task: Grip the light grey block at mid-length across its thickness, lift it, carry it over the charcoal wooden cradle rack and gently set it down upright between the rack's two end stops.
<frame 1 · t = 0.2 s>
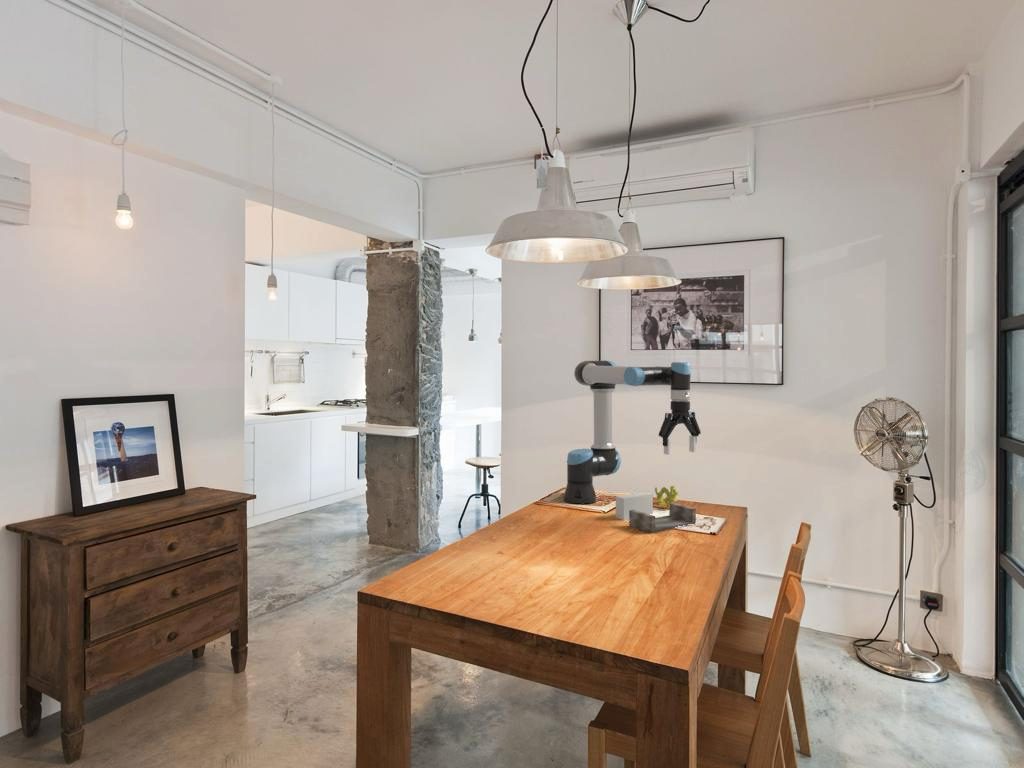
hand: (679, 453, 241), 27 cm above the table, tool pointing down, fingers open, 13 cm apart
green plant sprig: (665, 506, 266), on the table
cradle rack: (662, 525, 235), on the table
light grey block: (634, 516, 249), on the table
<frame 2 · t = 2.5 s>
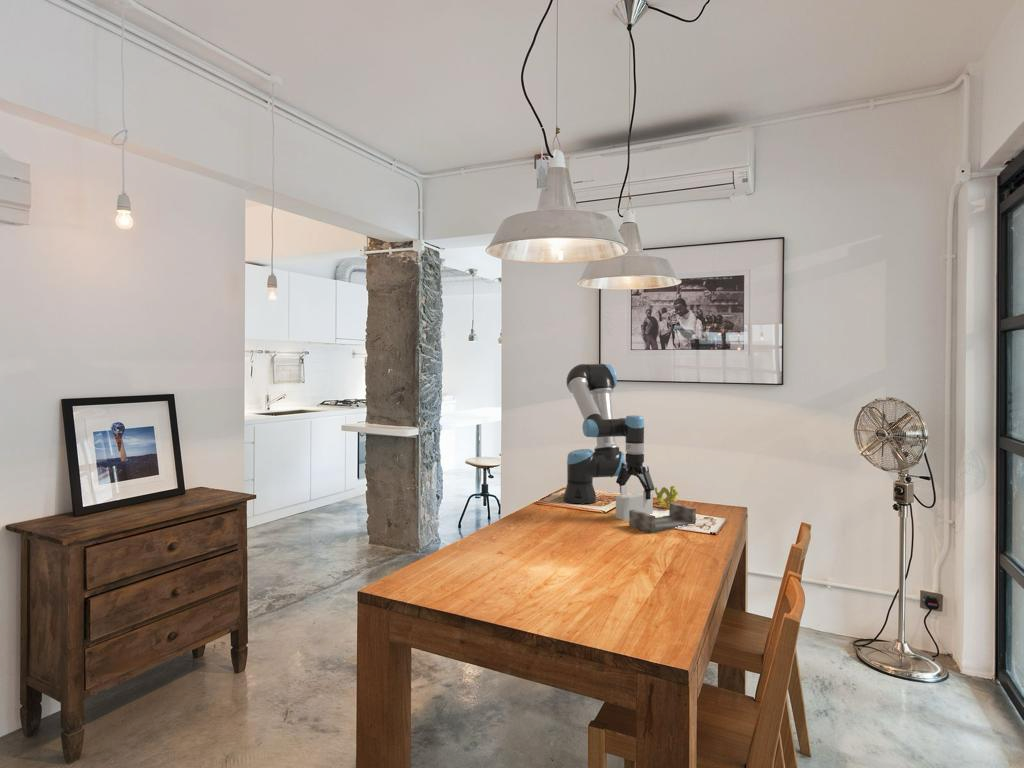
hand: (634, 504, 248), 5 cm above the table, tool pointing down, fingers open, 13 cm apart
nothing on the table moved.
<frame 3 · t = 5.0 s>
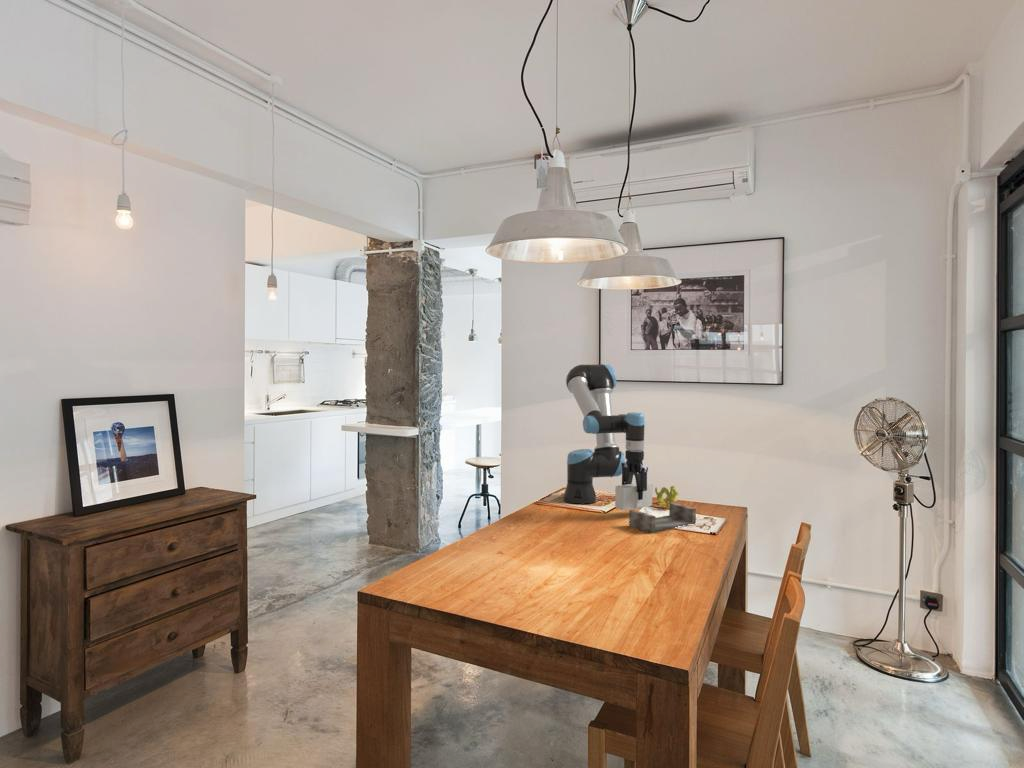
hand: (633, 505, 249), 4 cm above the table, tool pointing down, fingers closed on light grey block, 5 cm apart
light grey block: (633, 506, 249), point 4 cm above the table, touching gripper
everything else where it was.
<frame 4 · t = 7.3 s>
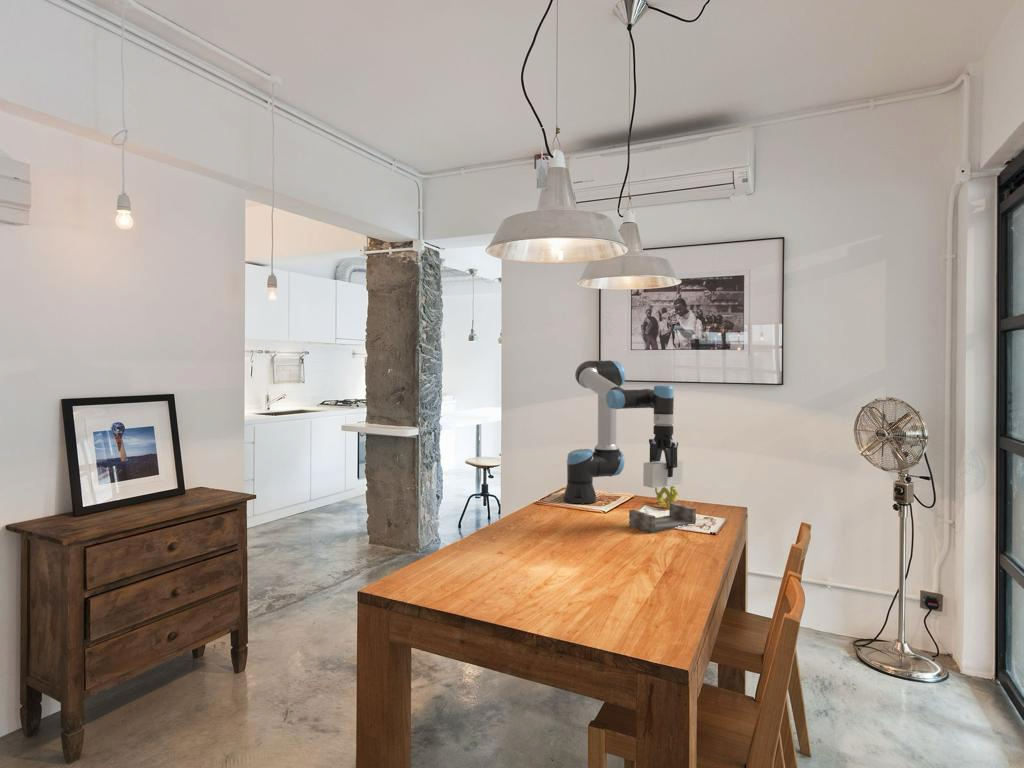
hand: (663, 483, 234), 16 cm above the table, tool pointing down, fingers closed on light grey block, 5 cm apart
light grey block: (662, 484, 234), point 16 cm above the table, touching gripper
everything else where it was.
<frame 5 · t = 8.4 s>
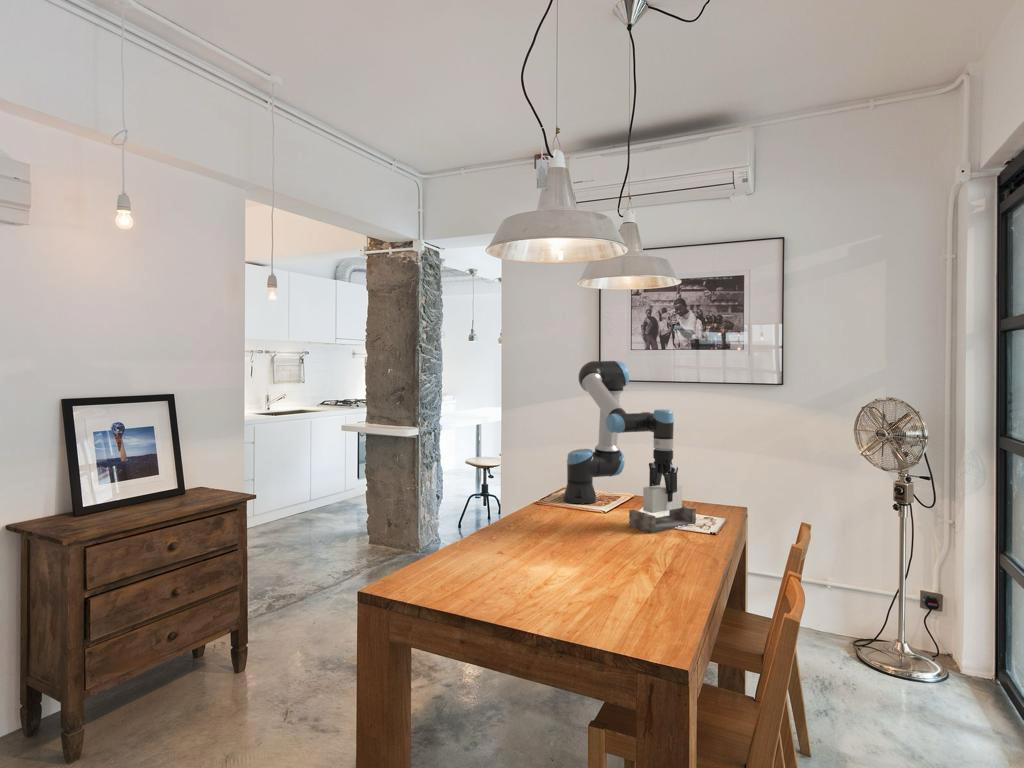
hand: (662, 507, 235), 7 cm above the table, tool pointing down, fingers closed on light grey block, 5 cm apart
light grey block: (662, 509, 235), point 6 cm above the table, touching gripper
everything else where it was.
when the fingers open (2 cm above the table, at t = 9.6 s): light grey block stays where it is, resting on cradle rack.
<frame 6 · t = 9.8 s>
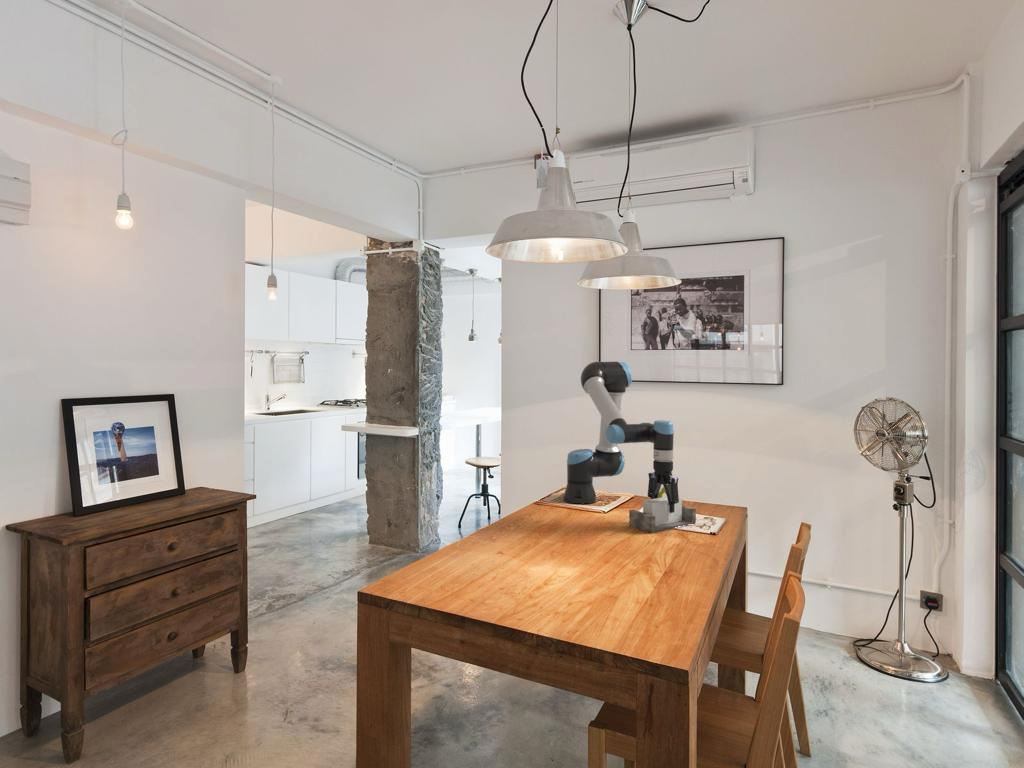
hand: (662, 518, 235), 3 cm above the table, tool pointing down, fingers open, 7 cm apart
light grey block: (662, 522, 235), point 1 cm above the table, touching cradle rack
everything else where it was.
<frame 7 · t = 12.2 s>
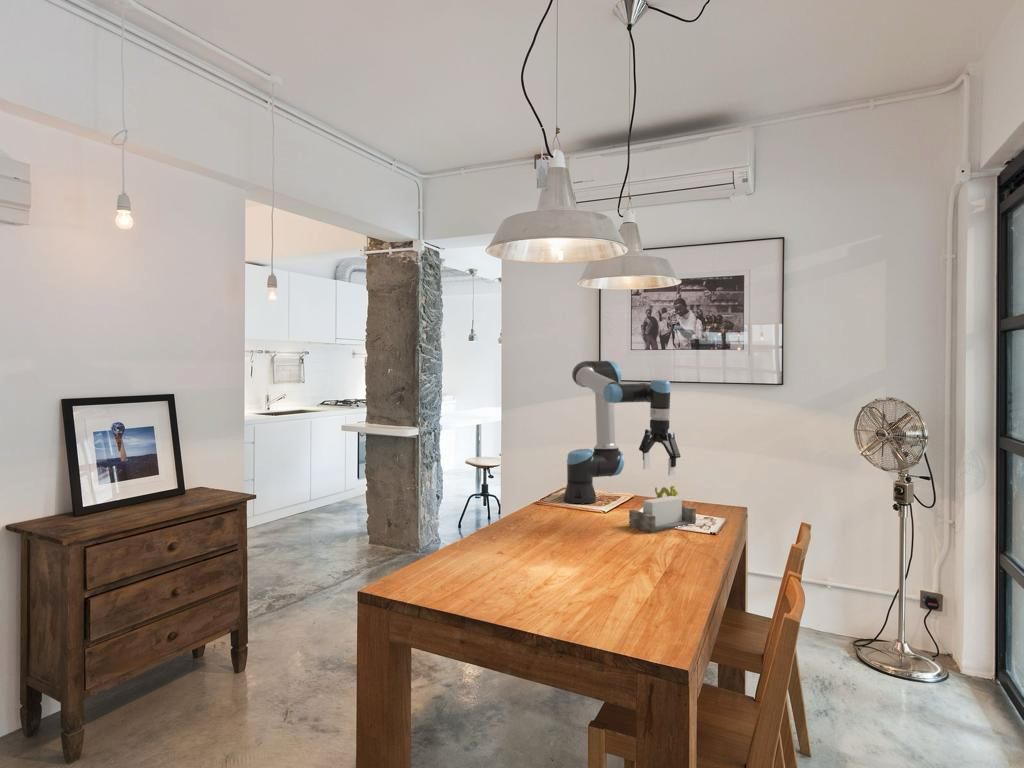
hand: (658, 472, 238), 20 cm above the table, tool pointing down, fingers open, 13 cm apart
nothing on the table moved.
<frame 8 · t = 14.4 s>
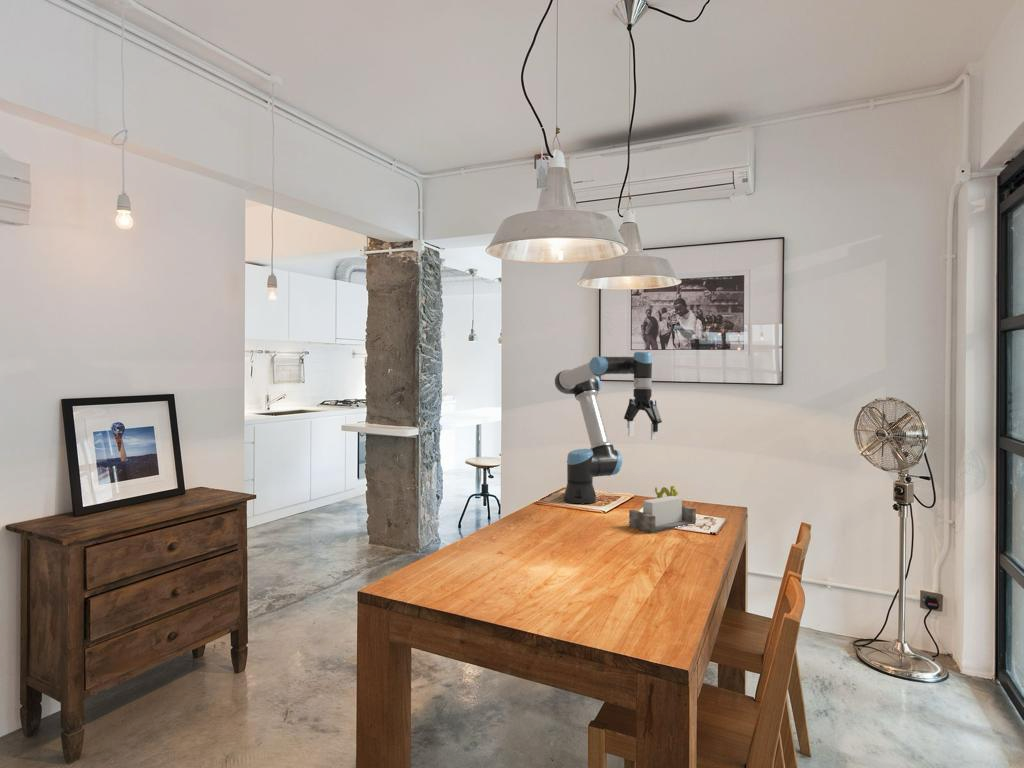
hand: (642, 437, 255), 32 cm above the table, tool pointing down, fingers open, 13 cm apart
nothing on the table moved.
at the end: light grey block 0.0 cm off-centre on the cradle rack, point 1.2 cm above the cradle rack's base; light grey block tilted 0°; the gripper is holding nothing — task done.
